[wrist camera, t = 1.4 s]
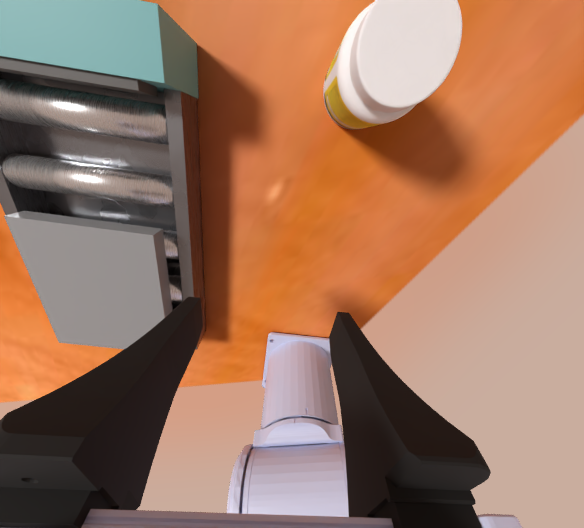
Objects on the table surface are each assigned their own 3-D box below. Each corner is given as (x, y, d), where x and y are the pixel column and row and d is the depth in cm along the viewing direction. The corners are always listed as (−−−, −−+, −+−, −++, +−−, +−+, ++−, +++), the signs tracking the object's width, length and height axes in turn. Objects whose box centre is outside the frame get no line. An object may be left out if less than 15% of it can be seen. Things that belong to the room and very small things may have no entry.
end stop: (198, 106, 17) (165, 94, 13) (-8, 73, 16) (-122, 47, 12) (196, 43, 15) (157, 4, 11) (-33, 2, 15) (-176, -58, 10)
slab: (176, 342, 23) (169, 353, 22) (71, 331, 23) (59, 342, 22) (162, 228, 18) (152, 235, 17) (24, 210, 17) (4, 216, 16)
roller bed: (206, 330, 27) (197, 349, 24) (79, 316, 26) (57, 334, 24) (197, 98, 17) (180, 91, 14) (-10, 64, 16) (-66, 50, 13)
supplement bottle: (382, 131, 18) (447, 124, 10) (319, 128, 18) (338, 118, 10) (398, 47, 15) (496, -40, 8) (326, 43, 15) (358, -50, 8)
